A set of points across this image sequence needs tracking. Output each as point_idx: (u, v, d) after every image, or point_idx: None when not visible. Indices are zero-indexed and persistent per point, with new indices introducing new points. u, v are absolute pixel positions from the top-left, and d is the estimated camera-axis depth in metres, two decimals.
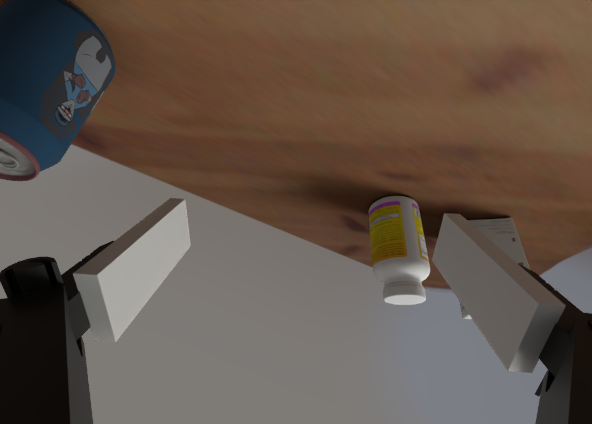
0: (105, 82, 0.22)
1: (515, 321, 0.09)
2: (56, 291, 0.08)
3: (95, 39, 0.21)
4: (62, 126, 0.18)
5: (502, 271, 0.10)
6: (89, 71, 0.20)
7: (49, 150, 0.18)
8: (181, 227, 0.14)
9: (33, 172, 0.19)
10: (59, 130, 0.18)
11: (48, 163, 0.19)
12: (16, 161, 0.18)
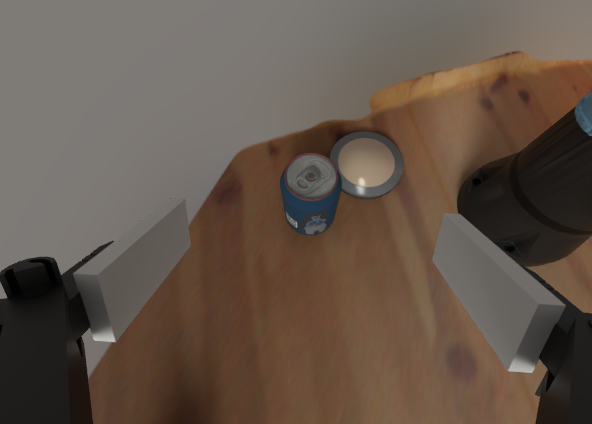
0: (303, 230, 0.38)
1: (515, 321, 0.09)
2: (56, 291, 0.08)
3: (322, 230, 0.39)
4: (313, 214, 0.32)
5: (502, 271, 0.10)
6: (317, 227, 0.37)
7: (308, 207, 0.31)
8: (181, 227, 0.14)
9: (294, 193, 0.31)
10: (313, 213, 0.32)
11: (297, 202, 0.31)
12: (305, 190, 0.31)
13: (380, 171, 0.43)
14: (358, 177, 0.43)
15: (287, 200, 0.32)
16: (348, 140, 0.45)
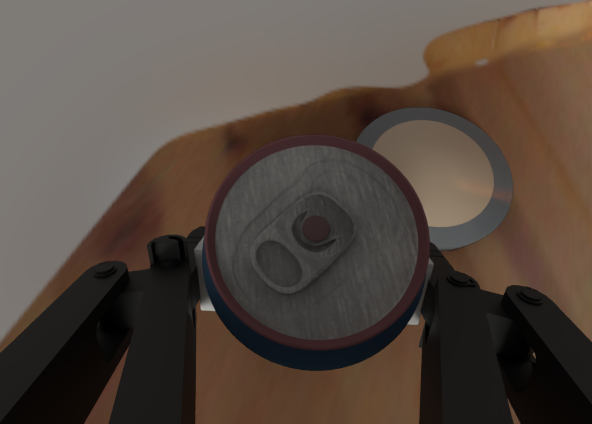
0: None
1: None
2: (183, 266, 0.10)
3: None
4: None
5: None
6: None
7: (304, 360, 0.07)
8: None
9: (241, 305, 0.07)
10: None
11: (258, 339, 0.07)
12: (290, 293, 0.07)
13: (463, 191, 0.19)
14: None
15: (221, 318, 0.08)
16: (390, 124, 0.22)
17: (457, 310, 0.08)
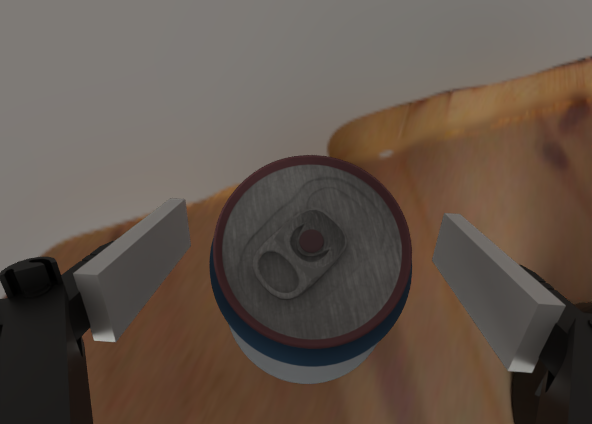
0: None
1: (515, 321, 0.09)
2: (56, 291, 0.08)
3: None
4: None
5: (502, 271, 0.10)
6: None
7: (300, 357, 0.08)
8: (181, 227, 0.14)
9: (245, 309, 0.08)
10: None
11: (260, 339, 0.08)
12: (288, 298, 0.08)
13: None
14: None
15: (228, 320, 0.09)
16: None
17: None
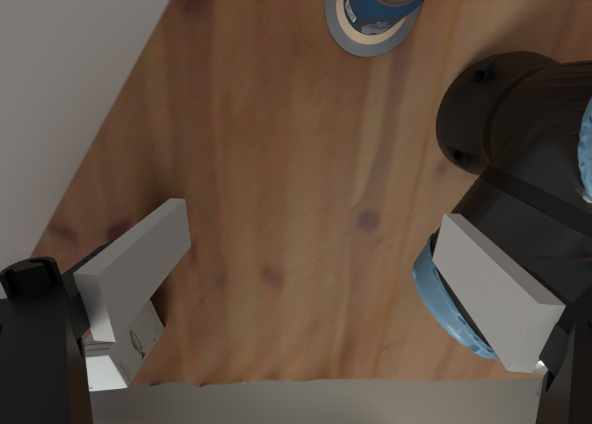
0: (359, 27, 0.32)
1: (515, 321, 0.09)
2: (56, 291, 0.08)
3: (380, 33, 0.33)
4: (380, 20, 0.27)
5: (502, 271, 0.10)
6: (377, 30, 0.31)
7: (379, 11, 0.25)
8: (181, 227, 0.14)
9: None
10: (381, 19, 0.26)
11: (369, 0, 0.25)
12: None
13: None
14: None
15: None
16: None
17: None
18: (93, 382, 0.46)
